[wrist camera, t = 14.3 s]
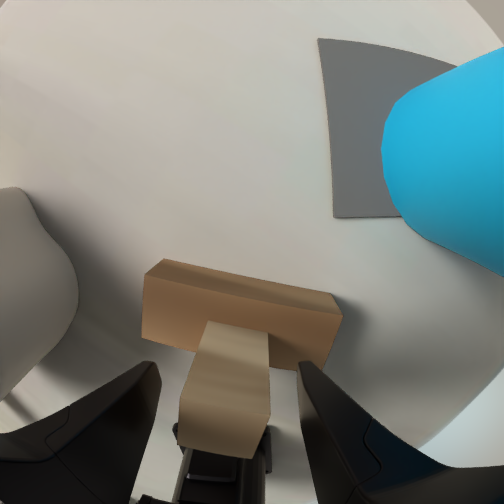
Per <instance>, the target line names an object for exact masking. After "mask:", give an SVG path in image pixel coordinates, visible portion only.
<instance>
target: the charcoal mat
mask: <svg viewBox="0 0 504 504" xmlns="http://www.w3.org/2000/svg"><path fill="white" fill-rule="evenodd" d="M317 41H318V47H319V53H320V59H321V66H322V73H323V80H324V88H325V96H326V105H327V115H328V125H329V137H330V150H331V166H332V187H333V217H334V218H340V217H375V216H401V214H400V213H399V211H398V210H397V208H396V207H395V205H394V204H393V202H392V199H391V196H390V193H389V190H388V187H387V184H386V181H385V179H384V173H383V162H382V153H381V146H382V140H383V133H384V126H385V122H386V120H387V118H388V116H389V114H390V112H391V110H392V108H393V106H394V104H395V102H397V101H398V100H399V99H400V98H401V97H403V96H404V95H405V94H406V93H407V92H409V91H410V90H411V89H413V88H415V87H417V86H419V85H421V84H423V83H425V82H427V81H429V80H431V79H433V78H435V77H437V76H439V75H441V74H443V73H445V72H448V71H450V70H452V69H454V68H456V67H458V66H455V65H452V64H449V63H446V62H443V61H440V60H437V59H434V58H430V57H427V56H423V55H420V54H416V53H412V52H408V51H404V50H399V49H395V48H390V47H385V46H379V45H374V44H368V43H361V42H353V41H345V40H335V39H323V38H318V40H317Z"/></svg>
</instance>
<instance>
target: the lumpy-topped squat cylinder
mask: <svg viewBox="0 0 504 504" xmlns="http://www.w3.org/2000/svg"><path fill="white" fill-rule="evenodd" d="M78 300H79V289H78V281H77V277H76V273H75V270H74V267H73V265H72V263H71V261H70V259H69V257H68V256H67V254H66V253H65V252H64V250H63V249H62V248H61V247H60V246H59V245H58V244H57V243H56V242H55V240H54V239H53V238H52V237H51V236H50V235H49V234H48V233H47V232H46V230H45V229H44V227H43V226H42V224H41V223H40V221H39V219H38V217H37V215H36V213H35V211H34V208H33V206H32V204H31V202H30V200H29V199H28V197H27V195H26V194H25V193H24V192H23V191H22V190H21V189H20V188H18V187H9V188H3V189H0V402H1V401H2V400H3V399H4V398H5V396H6V395H7V394H8V393H9V392H10V391H11V390H12V389H13V388H14V387H15V386H16V385H17V384H18V383H19V382H20V381H21V380H22V379H23V378H24V377H25V375H26V374H27V373H28V372H29V371H30V370H31V369H32V368H33V367H34V366H35V365H36V364H37V363H38V362H39V361H40V360H41V359H42V358H43V357H45V356H46V355H47V354H48V353H49V352H50V351H51V350H52V349H53V348H54V347H55V346H56V345H57V343H58V342H59V341H60V340H61V338H62V337H63V336H64V334H65V333H66V331H67V329H68V327H69V325H70V323H71V322H72V320H73V318H74V316H75V314H76V311H77V307H78Z"/></svg>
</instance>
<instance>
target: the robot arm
mask: <svg viewBox="0 0 504 504" xmlns="http://www.w3.org/2000/svg"><path fill="white" fill-rule="evenodd" d="M161 387H162V381H161V377H160V374H159V371H158V368H157V365H156V363H155V362H151V361H143V362H141V363H140V364H138V365H136V366H135V367H133V368H132V369H130V370H128V371H127V372H125V373H123V374H122V375H120V376H118V377H117V378H115V379H113V380H112V381H110V382H108V383H107V384H105V385H103V386H101V387H100V388H98V389H96V390H95V391H93V392H91V393H90V394H88V395H86V396H84V397H83V398H81V399H79V400H77V401H76V402H74V403H72V404H70V406H67V407H65V408H63V409H61V410H60V411H58V412H56V413H54V414H52V415H50V416H48V417H46V418H44V419H41V420H39V421H37V422H35V423H32V424H30V425H27V426H25V427H23V428H20V429H18V430H15V431H13V432H9V433H0V504H129V500H130V497H131V494H132V490H133V487H134V484H135V480H136V477H137V474H138V471H139V467H140V464H141V461H142V458H143V455H144V452H145V449H146V445H147V442H148V439H149V436H150V433H151V430H152V427H153V424H154V420H155V416H156V411H157V406H158V401H159V396H160V392H161ZM297 391H298V403H299V414H300V424H301V430H302V434H303V439H304V443H305V447H306V452H307V456H308V460H309V465H310V469H311V474H312V478H313V482H314V487H315V491H316V496H317V500H318V504H504V465H501V466H490V467H473V468H455V467H450V466H446V465H443V464H441V463H439V462H437V461H435V460H434V459H432V458H430V457H428V456H427V455H425V454H423V453H422V452H420V451H419V450H417V449H415V448H414V447H412V446H410V445H409V444H407V443H406V442H404V441H403V440H401V439H400V438H398V437H397V436H396V435H394V434H393V433H391V432H390V431H389V430H388V429H386V428H385V427H384V426H383V425H381V424H380V423H379V422H378V421H377V420H376V419H375V418H373V417H372V416H371V415H370V414H369V413H368V412H366V411H365V410H364V409H363V408H362V407H361V406H360V405H359V404H357V403H356V402H355V401H354V400H353V399H352V398H351V397H350V396H349V395H347V394H346V393H345V392H344V391H343V390H342V389H341V388H340V387H339V386H338V385H336V384H335V383H334V382H333V381H332V380H331V379H330V378H329V377H328V376H327V375H326V374H325V373H323V372H322V371H321V370H320V369H319V368H318V367H317V366H316V365H315V364H314V363H313V362H312V361H299V362H298V364H297ZM372 418H373V419H372ZM172 431H173V433H174V435H175V437H176V440H177V435H178V423H175V424H174V425H173V428H172ZM179 446H180V445H179ZM180 449H181V451H182V453H183V455H184V456H183V460H182V463H181V467H180V471H179V475H178V479H177V483H176V487H175V490H174V494H173V498H172V502H166V501H162V500H158V499H155V498H153V497H152V496H148V495H145V494H143V495H142V497H141V499H140V500H139V501H138V502H137V503H136V504H265V474H269V473H271V472H272V459H271V434H270V428H269V427H265V430H264V432H263V435H262V437H261V439H260V442H259V444H258V446H257V448H256V451H255V453H254V455H253V457H252V459H248V458H241V457H234V456H227V455H222V454H216V453H211V452H206V451H201V450H197V449H192V448H188V447H184V446H180Z"/></svg>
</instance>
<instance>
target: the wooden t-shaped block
mask: <svg viewBox="0 0 504 504" xmlns="http://www.w3.org/2000/svg"><path fill="white" fill-rule="evenodd" d="M342 318H343V314H342V312H341V311H340V309H339V307H338V306H337V304H336V302H335V301H334V299H333V297H332V295H331V294H330V293H326V292H321V291H316V290H310V289H305V288H300V287H295V286H290V285H285V284H280V283H275V282H270V281H265V280H260V279H255V278H251V277H246V276H241V275H236V274H231V273H227V272H222V271H218V270H213V269H208V268H204V267H199V266H195V265H190V264H186V263H181V262H177V261H173V260H168V259H163V260H161V261H160V262H159V263H158V264H157V265H155V266H154V267H153V268H152V269H151V270H149V271H148V272H147V273H146V274H145V275H144V288H143V306H142V336H141V338H144V339H148V340H151V341H155V342H158V343H162V344H165V345H169V346H173V347H177V348H180V349H184V350H188V351H192V352H196V355H195V358H194V360H193V363H192V366H191V369H190V371H189V374H188V377H187V380H186V382H185V385H184V388H183V391H182V394H181V396H180V404H179V418H178V435H177V445H180V446H184V447H188V448H192V449H197V450H201V451H206V452H211V453H216V454H222V455H227V456H234V457H241V458H248V459H252V457H253V455H254V453H255V451H256V448H257V446H258V444H259V442H260V439H261V437H262V435H263V432H264V430H265V427H266V425H267V423H268V420H269V418H270V415H271V414H270V381H269V367H272V368H279V369H286V370H293V371H297V364H298V362H299V361H312V362H313V363H314V364H315V365H316V366H317V367H318V368H319V369H320V370H321V371H322V369H323V366H324V364H325V362H326V359H327V357H328V354H329V352H330V349H331V347H332V344H333V342H334V339H335V337H336V334H337V332H338V329H339V326H340V324H341V321H342Z"/></svg>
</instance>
